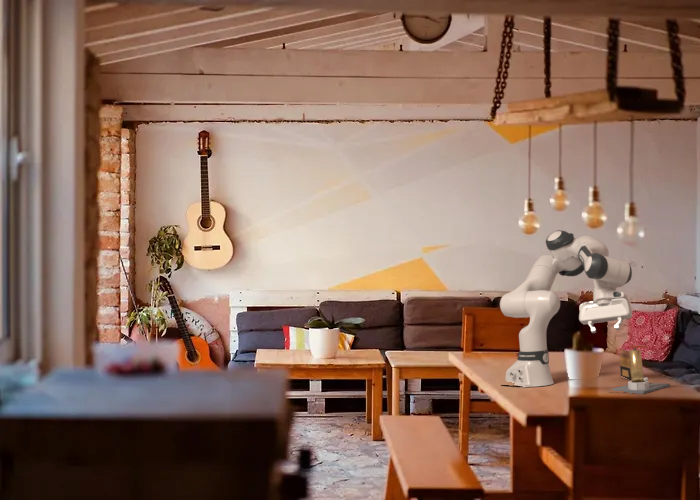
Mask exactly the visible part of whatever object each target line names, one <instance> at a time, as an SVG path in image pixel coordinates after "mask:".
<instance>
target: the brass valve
mask: <svg viewBox="0 0 700 500" xmlns="http://www.w3.org/2000/svg"><path fill="white" fill-rule="evenodd" d="M647 348H648V345H646V344H645V345H644V344H641V345H635V344H631V345H629V350H628V352H630V362H631V373H632V382H633V383H639V382H644V379H643V377H644V372H643V370H644V369H643V359H642V350H641V349H647Z"/></svg>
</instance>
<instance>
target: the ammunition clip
mask: <svg viewBox="0 0 700 500" xmlns="http://www.w3.org/2000/svg"><path fill="white" fill-rule="evenodd" d="M619 353H620V357H619V358H620V359H619V361H620V365H619V369H620V370H619V371H620V377H621V376H623V377H625V378H627V379H629V380H628V381H630V380H632V373H631V362H630V352H629V350H626V349H620V351H619Z"/></svg>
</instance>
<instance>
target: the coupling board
mask: <svg viewBox="0 0 700 500" xmlns="http://www.w3.org/2000/svg"><path fill="white" fill-rule="evenodd" d="M643 379H644V382H639V383H633V382H632V381H630V380H628V382H627V384H625V385H621V386H618V387H614V388H609V389H608V390H614V391H624V392H629V393H628V394H632V393H635V394H636V395H640V394H641V395H645V394H648V393H649V394H650V393H651V392H655V391H659V390H663V389H666V388H669V387H671V383H665V382H664V383H660V382H659V383H658V382H649V378H648V376H643Z"/></svg>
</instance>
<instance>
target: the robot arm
mask: <svg viewBox="0 0 700 500" xmlns="http://www.w3.org/2000/svg"><path fill="white" fill-rule="evenodd" d="M574 236H575V234H574V233H569V231H566V230H560V229H559V230H555V231H552V232H551V233H550V234H549V235H547V238H546V239H545V244H546V247H547V250H549V252H550V254H551V255H550V254H543V255H540V256H539V257H538V258H537V259H536V260H535V262H534V263H533V265H532V266H531V269H529V272H528V274H527V276H526V277H525V279H524V281H523V282H522V283H521V284H519V286H517V287H516V288H514V289H513V290H511V291H510V292H507V293H504V294H503V295H502V296H501V298H500V299H499V300H500V301H499V307H500V311H501V313H502V314H503V315H504V316H505V317H509V318H515V319H519V318H523V319H524V318H529V323H528V325H526V326H524V327H523V328H521V330H519V333H518V341H519V352H517V353H514V356H515V357H517V358H516V359H517V360H515V362H514V363H513V364H512V365H511V366H509V367H508V368H507V369H506V372H505V376H504V377H505V381H507V382H512V383H515V384H514V385H518V386H523V387H522V388H531V387H545V386H550V385H554V384H555V382H554V379H553V375H552V373H551V370H550V369H551V368H550V362H549V361H550V356H549V355H550V354H549V350H548V346H547V345H548V344H547V331H548V330H547V329H548V326H549V323H550V321H551V320H552V318H553V317H554V316H555V315H556V314H557V313H558V312H559V310H560V308H561V299H560V297H559V295H558V293H556V292H555V291H553V290H551V289H552V288H553V284H554V281H555V279H556V277H557V275H560V276H562V277H563V276H565V277H576V276H579V275H580V274H582V273H584V272H585V275H586V276H587V278H589V279H592V280H593V287H594V289H593V290H592V291H593V295H592V296H593V297H592V298H593V300H589V301H583V302H582V303H580V305H579V310H578V311H579V314H578V320H579V322H580V323H581V324H583V325H588V326H589V327H590V331H591V333H592V334H596V333H597V328H596V327H595V326H594V324H597V323H605V322H607V323H608V322H612V321H613V322H614V321H617V323H616V324H614V329H615V331H620V330H621V326H622V324H623V322H624V320H630V319H631V318H632V317H633V308H632V306H631V304H630V300H629V297H628V295H627V294H626V293H625V292H624V291H618V290H617V288H620V287H624V285H626V284H628V283H629V282H630V281H631V279H632V276H633V270H632V267H631V264H630V263H629V262H627V261H624V260H620V259H616V258H613V257H610V256H609V255H610V254H609V252H610V251H609V248H608V247H607V245H606V244H604V243H605V242H602V241H601V240H600V239H599V238H596V237H594V236H592V235H588V234H585V235H581V236H580V237H578V238H575V237H574Z"/></svg>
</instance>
